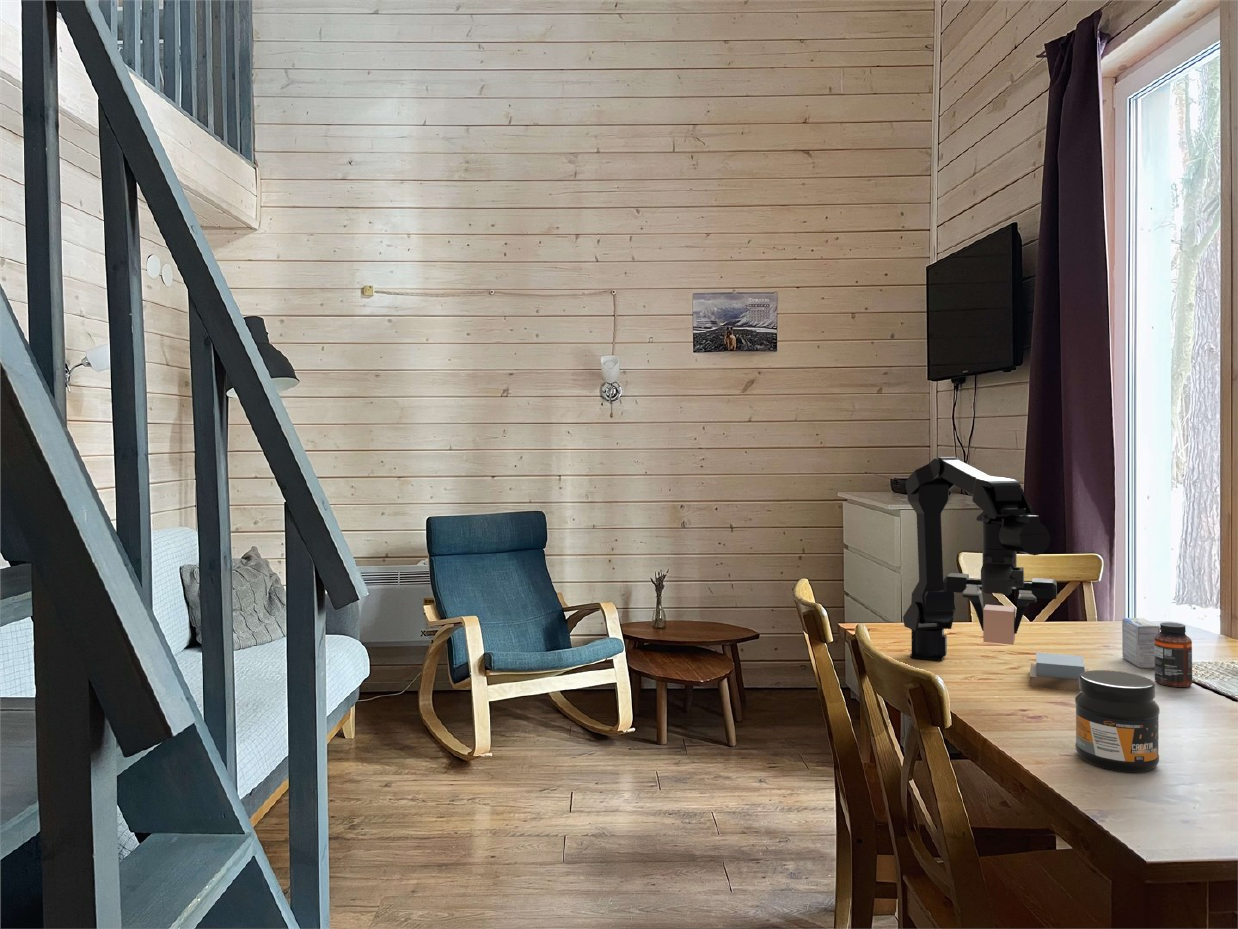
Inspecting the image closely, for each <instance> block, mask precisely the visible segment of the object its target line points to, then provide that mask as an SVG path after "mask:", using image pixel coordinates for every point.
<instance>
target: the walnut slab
mask: <svg viewBox="0 0 1238 929" xmlns="http://www.w3.org/2000/svg"><path fill="white" fill-rule="evenodd" d="M1029 667H1030V669H1029V686H1030V687H1038V688H1039V687H1040V688H1047V689H1049V688H1050V689H1058V690H1066V691H1077V692H1080V691H1081V690H1080V689H1079V680H1078V679H1067V678H1057V677H1047V676H1036V663H1030V666H1029ZM1086 671H1089V668H1085V672H1086Z"/></svg>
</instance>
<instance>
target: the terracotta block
mask: <svg viewBox="0 0 1238 929" xmlns="http://www.w3.org/2000/svg"><path fill="white" fill-rule="evenodd" d="M1015 616H1016V606H1011V605H1010V606H1009V605H996V604H985V606H984V609H983V635H982V636H983V639H982V640H983V641H982V642H983V643H989V644H991V643H992V644H1000V645H1009V646H1010V645H1011V646H1013V645H1015V640H1016V634H1014V623H1015Z"/></svg>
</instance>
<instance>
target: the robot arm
mask: <svg viewBox="0 0 1238 929" xmlns="http://www.w3.org/2000/svg"><path fill="white" fill-rule="evenodd" d="M955 486H956V487H958V488H959V489H961V490H963V491H965V492H966V493H968V494H969V495H971V496H972V498H971V501H972V502H973V503H974V505H976V507H978V508H979V509H980V510H981V511H982V512H981V513H980V514H979V515H977V516H976V521H977V522H980V523H981V522H982V531H981V532H982V565H981V569H980V578H970V575H969V574H970V573H956V572H949V573H948V574H947V575H946V576H945V577H944V560H943V559H944V558H943V557H944V556H943V555H944V554H943V553H944V552H943V529H942V527H943V526H942V512H943V511H944V510H945V508H946V506H947V504H948V502H949V499H950V498H949V497H950V495H949V494H950V491H951V490H952V489H953V488H954V487H955ZM905 491H906V494H907V500H908V503H909V505H910V507H911V508H912V509H913V511H914V513H915V514H916V535H917V536H916V537H917V562H918V582H917V584H916V585H915V587H914V588H913V591H912V592H911V604H910V605H909V606H908V608H907V609H906V611H905V612H904V615H903V616H902V621H903V624H904V625H903V626H904V628H907V629H909V630H911V633H910V634H911V639H910V640H911V653H910V655H909V658H911V657H912V658H911V659H918V660H919V659H921V660H928V661H929V660H931V661H940V662H942V661H943V660H944V659H945V658H944V657H946V656H947V655H948V648H947V647H948V645H947V644H948V637H947V636H948V635H947V634H945V630H951V629H952V628H953V622H954V618H955V614H956V613H955V612H956V606H955V605H956V604H955V593H959V594H961V593H962V594H961V595H962V597H963V598H967V599H968V600H969V602H970V603H971V605H972V607H973V608H974V611H975V613H976V616H977V617H976V618H977V619H978V622H979V625H980V628H981V630H982V631H983V609H984V607H985V606H984V597H983V593H984V594H985V595H986V594H987V595H991V594H997V595H998V594H1001V595H1002V596H1009V595H1011V594H1012V593H1013V592H1016V593H1018V597H1017V604H1016V609H1015V623H1014V634H1015V635H1016V634H1018V630H1019V627H1020V625H1021V621H1022V619H1023V616H1024V614H1025V612H1026V611H1027V610H1026V609H1027V608H1028V606H1029V604H1030V603H1037V599H1043V600H1044V599H1046V600H1057V597H1058V596H1057V595H1058V592H1057V590H1058V588H1057V587H1058V586H1057V585H1058V584H1057V583H1058V582H1057V581H1056V580H1055V579H1054V578H1040V577H1032V581H1025V569H1024V567H1022V566H1021V567H1019V566H1017V561H1018V559H1017V553H1022V554H1026V555H1031V556H1038V555H1041V554H1043V553H1044V552H1045V551H1047V549H1048V548H1049V546H1050V543H1051V535H1050V532H1049V530H1048V529H1047V527H1046V526H1045V525H1044V524H1042V523H1041V522H1040V516H1039V515H1035V513H1034V511H1033V506H1032V505H1031V504H1030V502H1029V500H1028V498H1027V495H1026V494H1025V492H1024V489H1023V487H1022V485H1021V484H1020V482H1019V481H1018V480H1016V479H1013V478H1009V477H1008V478H1007V477H1001V476H992V475H989V474H987V473H985V472H983V471H981V470H978V469H977V468H975V467H974V466H971V465H970V464H967V463H966V462H964V461H961V459H960V457H956V456H937V457H935V458H933V459H932V460H931V461H930V462H929V463H927V464H925V465H923V466H920V467H919V468H917V469H915V470H914V471H912V473H911V474H910V475H909V476H908V478H907V479H906V480H905Z"/></svg>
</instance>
